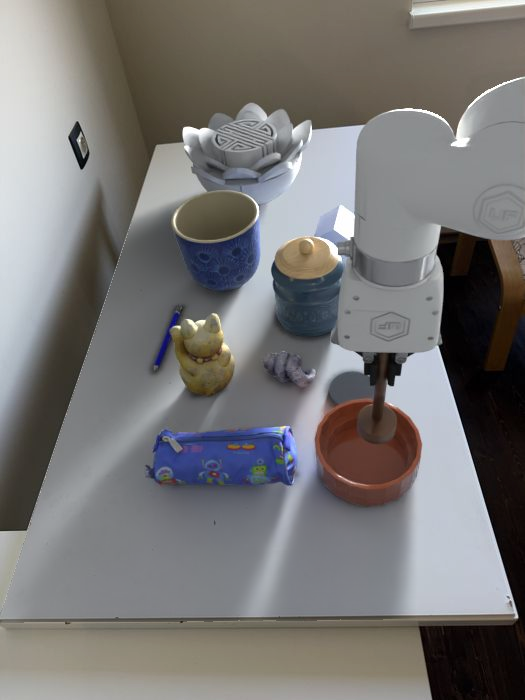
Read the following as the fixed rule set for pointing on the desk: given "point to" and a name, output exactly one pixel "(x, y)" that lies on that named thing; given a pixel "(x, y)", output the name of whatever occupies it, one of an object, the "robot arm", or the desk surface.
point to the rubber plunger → (378, 409)
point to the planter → (219, 238)
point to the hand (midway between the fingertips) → (381, 375)
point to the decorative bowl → (248, 152)
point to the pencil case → (225, 457)
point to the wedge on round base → (336, 227)
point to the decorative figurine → (203, 355)
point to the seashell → (288, 368)
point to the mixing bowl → (366, 457)
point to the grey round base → (351, 387)
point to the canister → (307, 285)
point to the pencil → (167, 338)
